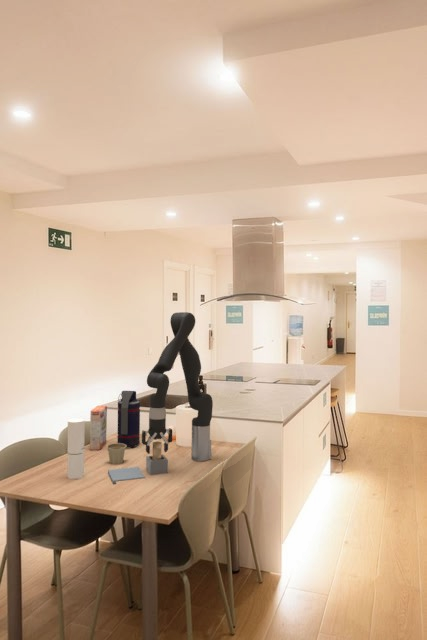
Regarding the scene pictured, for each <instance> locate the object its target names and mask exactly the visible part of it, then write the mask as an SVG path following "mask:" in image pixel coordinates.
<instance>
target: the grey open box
mask: <svg viewBox="0 0 427 640" xmlns="http://www.w3.org/2000/svg"><path fill="white" fill-rule="evenodd" d="M145 457H146V458H145V470H146V471H147V473H148V474H149V475H151V476H152V475H161V474H163V475H164V474H168V472H169V471H168V469H169V460H168V458H167V456H165V455H164V454H161V460H153V455H146V456H145Z"/></svg>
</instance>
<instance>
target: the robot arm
mask: <svg viewBox="0 0 427 640" xmlns="http://www.w3.org/2000/svg"><path fill="white" fill-rule="evenodd" d="M195 324H196V317H195V315H194V314H193V313H191V312H185V311H184V312H183V311H181V312H174V313H172V315H171V316H170V327H171V331H172V333H173V336H174V337H173V338H172V340H170V342H169V343H168V344H167V345H166V346H165V347H164V349H163V350H162V351H161V354H160V356H159V358H158V360H157V362H156V364H155V365H154V367H153V368H152V369H151V370H150V371H149V373H148V375H147V376H146V377H147V378H146V385H147V386H148V387H149V388H150V389H151V388H152V389H156V393H152V394H151V395H150V397H149V410H148V414H149V415H148V430H145V429H144V430H142V431H141V444H142V445H144V446H145V452H146V454H147V455H150V452H151V446H150V445H151V443H153V442H154V441H153V440H156V441H157V440H162V441H163V442H164V443H163V451H164V453H167V452H168V451H169V444H170V443H172V442H173V429H172V428H166V427H167V425H166V421H167V410H166V398H167V394H168V392H169V391H168V390H169V386H170V378H169V376H168V375H167V374H166V372H169V371H171V370H172V368H173V367H174V363H175V361H176V359H177V356H178V355H179V357H180V362H181V366H182V370H183V374H184V380H185V384H186V390H187V392H186V393H187V399H188V404H189V406H190V408H191V409H192V410H195V411H197V416H196V417H193V418H192V419H191V454H190V455H191V460H192V461H194V462H206V461H209V460H212V440H211V420H212V418H213V407H214V403H213V396H212V395H210V394H209V393H205V392H202V391H201V389H200V385H199V384H200V383H199V378H200V375H201V372H202V363H201V358H200V355H199V353H198V350H197V349H196V348H195V346H194V345H193V343H191V341H190V339H189V336H190V334H191V333H192V331H193V330H194V329H195ZM166 434H167V435H168V437H167V438H166V436H165V435H166ZM148 435H149V436H148ZM147 436H148V437H147Z"/></svg>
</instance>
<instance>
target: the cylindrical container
mask: <svg viewBox="0 0 427 640" xmlns="http://www.w3.org/2000/svg"><path fill="white" fill-rule="evenodd" d="M66 470H67V478H68V479H71V480H77V479H82V478H83V477H85V419H84V418H70V419H68V420H67V467H66Z"/></svg>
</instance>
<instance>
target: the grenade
mask: <svg viewBox="0 0 427 640" xmlns="http://www.w3.org/2000/svg"><path fill="white" fill-rule="evenodd" d="M140 408H141V401H140V400H138V399H137V391H136V390H122V391H121V393H120V394H119V395H118V398H117V443H122V444H125V445H127V446H126V448H127V447H128V448H129V447H130V449H135V448H136V447H137V446H138V445H140V441H141V440H140V436H141V435H140V433H141V431H140V430H141V429H140V428H141V427H140V426H141V423H140V422H141V419H140V418H141V409H140Z"/></svg>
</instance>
